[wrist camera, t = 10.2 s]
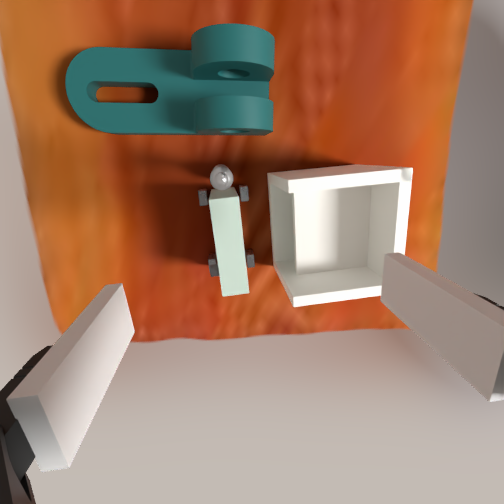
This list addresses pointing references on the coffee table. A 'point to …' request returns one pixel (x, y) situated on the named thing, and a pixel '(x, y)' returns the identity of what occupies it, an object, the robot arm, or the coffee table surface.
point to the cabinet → (337, 229)
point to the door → (228, 242)
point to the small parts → (222, 181)
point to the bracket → (181, 85)
